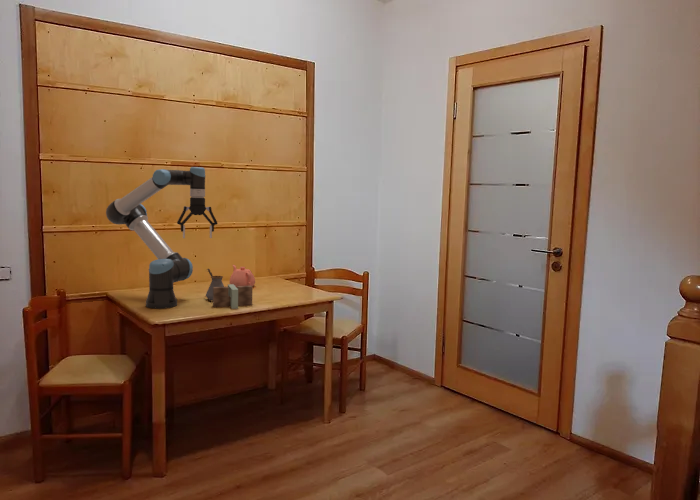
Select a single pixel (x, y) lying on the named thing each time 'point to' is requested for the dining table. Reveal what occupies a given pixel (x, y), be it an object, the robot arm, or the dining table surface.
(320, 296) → the dining table surface
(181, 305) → the dining table surface
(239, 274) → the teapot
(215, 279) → the coffee pot
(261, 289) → the dining table surface
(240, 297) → the walnut slotted plate
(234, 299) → the green slotted plate
